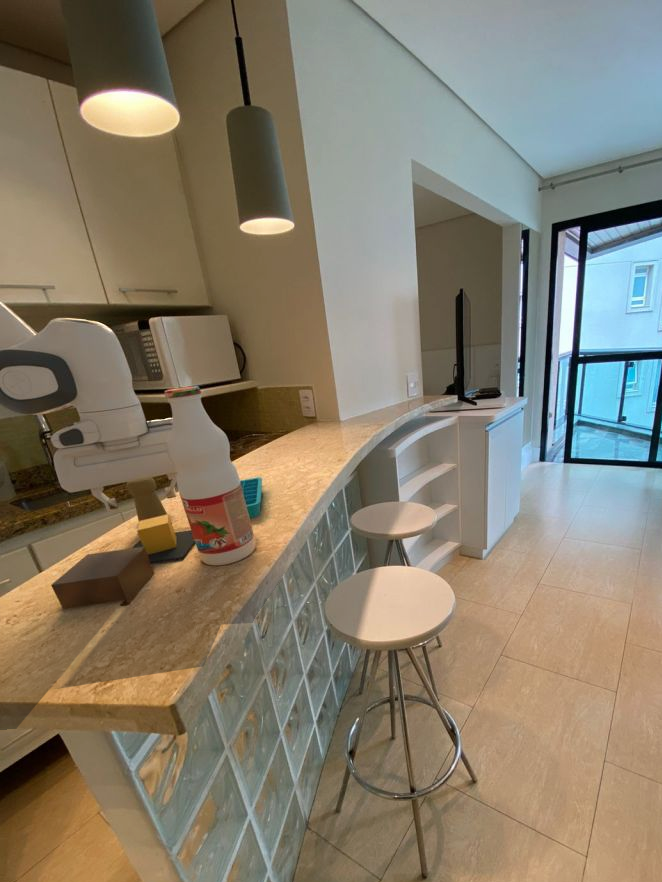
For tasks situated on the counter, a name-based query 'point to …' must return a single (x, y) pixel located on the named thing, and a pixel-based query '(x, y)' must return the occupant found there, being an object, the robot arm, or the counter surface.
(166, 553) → the coaster
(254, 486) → the ice cube tray
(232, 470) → the fruit juice
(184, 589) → the counter surface
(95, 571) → the walnut block
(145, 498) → the cork
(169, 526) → the mustard cube
